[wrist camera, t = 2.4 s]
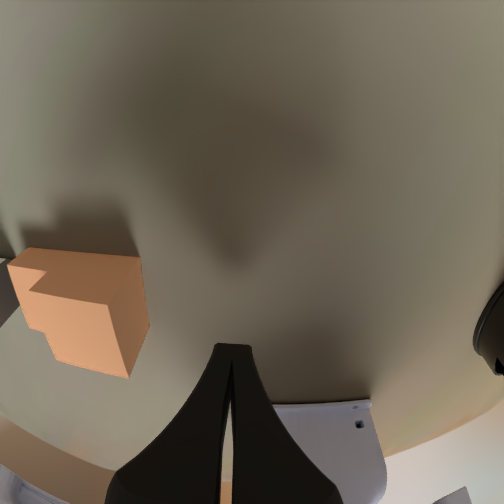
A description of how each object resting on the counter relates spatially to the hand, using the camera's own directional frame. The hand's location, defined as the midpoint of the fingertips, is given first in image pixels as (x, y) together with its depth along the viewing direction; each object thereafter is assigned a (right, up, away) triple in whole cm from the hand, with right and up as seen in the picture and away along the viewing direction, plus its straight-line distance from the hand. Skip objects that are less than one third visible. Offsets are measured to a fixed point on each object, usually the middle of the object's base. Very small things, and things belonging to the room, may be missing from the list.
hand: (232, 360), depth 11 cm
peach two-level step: (-9, +2, +4) cm, 10 cm away
